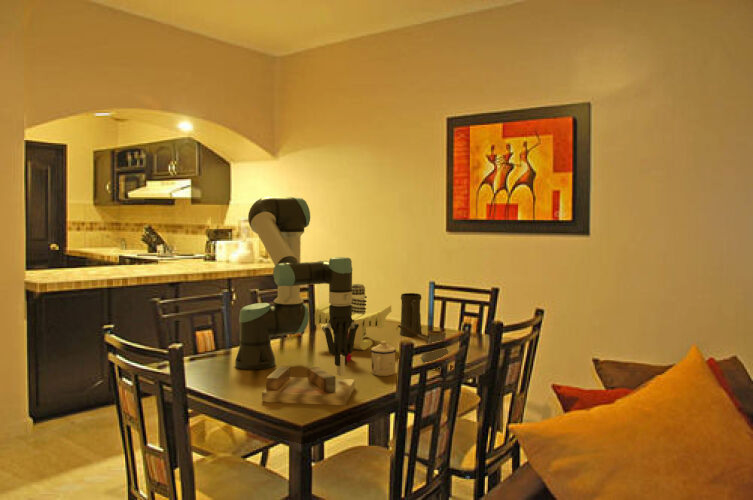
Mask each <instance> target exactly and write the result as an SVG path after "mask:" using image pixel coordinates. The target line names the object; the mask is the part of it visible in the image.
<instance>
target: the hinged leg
mask: <svg viewBox="0 0 753 500" xmlns="http://www.w3.org/2000/svg"><path fill="white" fill-rule="evenodd" d="M307 378H308V381H310V382H311V383H313V384H314V385H316V386H317V387H319V388H320V389H322V390H323V391H326V392H328V393H333V392H335V391H336V386H335V379H336V376H334V375H332V374H330V373H328V372H327V371H326V370H324V369H322V368H320V367H319V366H313V367H307Z"/></svg>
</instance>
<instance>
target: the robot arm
mask: <svg viewBox="0 0 753 500" xmlns="http://www.w3.org/2000/svg"><path fill="white" fill-rule="evenodd" d="M248 211H249V212H248V216H247V219H248V224H249V226H250V229H251V230H252V231H253V232H254V233H255V234H257V235H258V237H259V240H260V242H261V243H262V245H263V246H264V248H265V250H266V252H267V254H268V255H269V257H270V260H271V261H272V263H273V265H274V267H273V273H272V276H273V278H274V279H273V281H274V283H275V285H277V297H276V298H274V300H273V306H272V305H271V303H268V302H260V303H259V302H258V303H252V304H248V305H245V306H243V307H242V308H241V309H240V310H239V317H238V318H239V319H238V322H239V324H238V325H239V348H238V349H237V354H236V356H235V360H234V361H235V362H234V363H235V365H234V366H235V368H237V367H238V368H237V369H239V368H241V369H240V370H245V369H248V370H250V371H253V370H254V371H255V370H265V369H270V368H272V367H274V366H276V357H275V354H274V351H273V348H272V343H271V338H272V337H280V336H289V335H291V336H292V335H296V334H301V333H303V332H305V330H306V329H307V327H308V324H309V321H310V313H309V312H310V311H309V308H308V306H307V304H306V303H304V299H303V298H302V297H301V296H300V294H301V293H300V292H301V289H300V288H301V286H307V285H321V284H322V285H323V284H325V285H328V290H329V291H328V296H329V297H328V303H330V304H331V305H330V306H329V316H330V319H329V322H328V323H329V324H328V325H327V324H325V326H322V328H321V330H322V331H323V333H324V336H325V339H326V345H327V349H328V353H329V354H330V355H332V356H334V365H335V366H336V375H338V376H340V377H343V376H346V369H345V368H346V365H347V362H348V361H347V356H348V355H349V354H348V353H350V354H351V353H353V350H354V349H353V344H354V339H355V335H356V330H357V329H358V327H359V325H358V324H356V323H354V322H353V320H352V317H351V316H352V305H351V303H352V284H353V265H352V259H351V258H350V257H345V256H335V257H334V256H333V257H330V258H329V260H318V261H310V262H301V236H302V235H303V234H304V233H305V228H307V227H309V225H310V222H311V210H310V207H309V205H308V203H307V201H306V200H305V199H304V198H302V197H296V196H288V197H287V196H265V197H264V196H263V197H261V198H259V199H257V200H256V201H255V202H253V204H252V205H251V207H250V208H249V210H248ZM349 327H350V330H349V334H348V329H349ZM347 335H348V339H347ZM248 370H247V371H248Z"/></svg>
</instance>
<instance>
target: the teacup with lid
mask: <svg viewBox="0 0 753 500" xmlns="http://www.w3.org/2000/svg"><path fill="white" fill-rule="evenodd" d="M370 351H371V374H372V375H374V376H378V377H379V376H380V377H388V376H393V375H394V374H395V373H396V351H397V350H396V348H395V347H394V346H391V345H389V344H388V343H387V342H386V341H385V340H383V341H380V344H377V345H375V346H373V347H371V350H370Z"/></svg>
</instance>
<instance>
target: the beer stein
mask: <svg viewBox="0 0 753 500" xmlns="http://www.w3.org/2000/svg"><path fill="white" fill-rule="evenodd" d="M400 300H401V307H400V308H401V313H400V326H402V327H405V328H407V329H410V330H412V331H414V332H416V333H418V334H419V335H421V336H423V335H422V334H423V331H422V323H421V322H422V319H421V316H422V315H421V301H422V294H420V293H415V292H414V293H413V292H410V293H408V292H406V293H401V295H400ZM399 328H400V327H399ZM399 335H400V336H404V337H417V336H416V335H414V334H411V333H409V332H407V331H406V330H404V329H402V328H400V330H399Z"/></svg>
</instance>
